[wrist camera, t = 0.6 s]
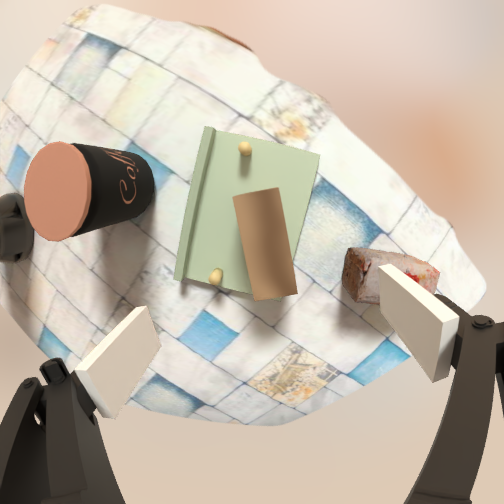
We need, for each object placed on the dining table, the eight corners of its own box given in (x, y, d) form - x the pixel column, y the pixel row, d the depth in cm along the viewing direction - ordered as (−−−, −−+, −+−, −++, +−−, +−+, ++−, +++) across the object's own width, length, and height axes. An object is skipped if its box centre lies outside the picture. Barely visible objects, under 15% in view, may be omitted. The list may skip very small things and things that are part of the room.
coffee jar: (167, 201, 40) (101, 215, 23) (115, 229, 42) (41, 256, 24) (143, 140, 38) (70, 121, 21) (93, 173, 40) (15, 175, 22)
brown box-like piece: (257, 276, 40) (254, 301, 32) (240, 194, 38) (232, 196, 29) (292, 270, 40) (298, 293, 31) (277, 187, 37) (279, 187, 28)
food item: (420, 252, 40) (452, 270, 30) (408, 297, 41) (436, 323, 32) (347, 241, 40) (369, 258, 30) (337, 291, 42) (353, 319, 32)
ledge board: (180, 272, 43) (171, 281, 38) (210, 130, 37) (203, 124, 33) (280, 297, 43) (281, 309, 38) (318, 156, 37) (324, 152, 33)
